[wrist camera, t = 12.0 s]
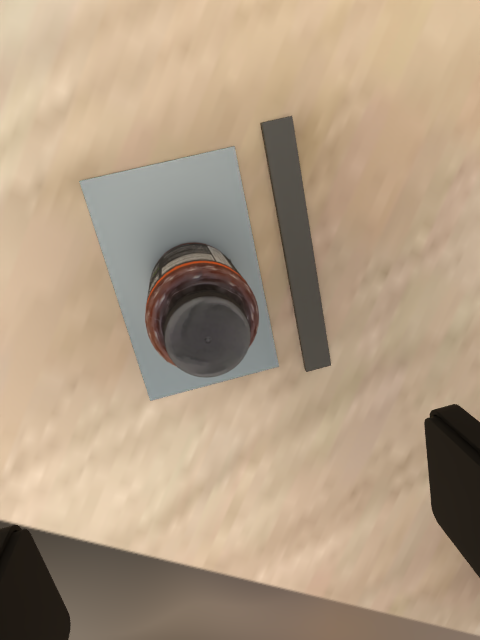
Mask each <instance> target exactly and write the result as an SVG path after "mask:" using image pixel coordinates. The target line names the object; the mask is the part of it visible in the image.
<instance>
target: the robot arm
mask: <svg viewBox="0 0 480 640" xmlns="http://www.w3.org/2000/svg"><path fill="white" fill-rule="evenodd" d="M425 436H426V448H427V459H428V471H429V483H430V494H431V506H432V511H433V514H434V516H435V518H436V520H437V522H438V524H439V525H440V526H441V528H442V529H443V530H444V532H445V533H446V534H447V536H448V537H449V538H450V539H451V541H452V542H453V543H454V545H455V546H456V547H457V549H458V550H459V551H460V553H461V554H462V555H463V557H464V558H465V559H466V560H467V562H468V563H469V564H470V566H471V567H472V568H473V570H474V571H475V572H476V574H477V575H478V576H479V577H480V422H479V421H478V420H476V419H475V418H474V417H473V416H471V415H470V414H469V413H468V412H466V411H465V410H464V409H463V408H461V407H460V406H458V405H457V404H453V405H449V406H446V407H442V408H438V409H435V410H432V411H431V413H430V418H427V419H425ZM69 633H70V616H69V613H68V611H67V609H66V606H65V604H64V602H63V600H62V598H61V596H60V594H59V592H58V590H57V588H56V586H55V584H54V581H53V579H52V577H51V575H50V573H49V571H48V569H47V567H46V565H45V563H44V561H43V558H42V557H41V555H40V552H39V550H38V548H37V546H36V544H35V542H34V540H33V538H32V536H31V534H30V532H29V531H28V530H27V529H24V530H22V529H21V528H20V527H19V526H18V525H13V526H9V527H6V528H2V529H0V640H68V638H69Z"/></svg>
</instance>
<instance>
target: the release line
mask: <svg viewBox="0 0 480 640" xmlns="http://www.w3.org/2000/svg"><path fill="white" fill-rule="evenodd" d="M261 128H262V134H263V139H264V145H265V150H266V156H267V161H268V167H269V173H270V178H271V184H272V189H273V195H274V200H275V206H276V211H277V217H278V222H279V228H280V234H281V239H282V245H283V250H284V256H285V261H286V267H287V272H288V278H289V284H290V289H291V295H292V300H293V306H294V311H295V317H296V322H297V328H298V333H299V339H300V345H301V350H302V356H303V361H304V367H305V370H306V372H308V371H312V370H315V369H319V368H323V367H327V366H330V365H331V361H330V355H329V348H328V342H327V335H326V329H325V323H324V316H323V310H322V304H321V297H320V291H319V284H318V278H317V272H316V265H315V259H314V253H313V246H312V240H311V233H310V227H309V221H308V214H307V208H306V202H305V195H304V189H303V182H302V176H301V170H300V163H299V157H298V150H297V144H296V138H295V131H294V125H293V119H292V116H290V117H285V118H281V119H276V120H272V121H267V122H263V123H261Z"/></svg>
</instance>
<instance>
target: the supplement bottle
mask: <svg viewBox="0 0 480 640" xmlns="http://www.w3.org/2000/svg"><path fill="white" fill-rule="evenodd" d="M145 323H146V328H147V333H148V336H149V339H150V341H151V343H152V345H153V346H154V348H155V349H156V351H157V352H158V353H159V355H160V356H162V357H163V358H164V359H165V360H166V361H167V362H169V363H170V364H172V365H174V366H176V367H178V368H179V369H181V370H182V371H184V372H186V373H188V374H190V375H193V376H197V377H206V378H207V377H216V376H220V375H222V374H225V373H227V372H229V371H230V370H232V369H234V368H235V367H236V366H237V365H238V364H239V363H240V362H241V361H242V360H243V358H244V357H245V355H246V353H247V351H248V349H249V347H250V346H251V344H252V343H253V341H254V339H255V336H256V334H257V330H258V326H259V311H258V305H257V301H256V298H255V296H254V294H253V292H252V290H251V288H250V287H249V285H248V284H247V282H246V280H245V279H244V278H243V277H242V276H241V274H240V273H239V272H238V271H237V269H236V268H235V267H234V265H233V264H232V262H231V259H230V260H229V259H228V258H227V257H226V256H225V255H224V254H223V253H221V252H220V251H219V250H217V249H216V248H214V247H212V246H209V245H206V244H203V243H185V244H181V245H178V246H176V247H174V248H172V249H170V250H169V251H167V252H166V253H164V254H163V256H162V257H161V258H160V259H159V260H158V262H157V263H156V265H155V267H154V269H153V271H152V274H151V278H150V283H149V290H148V297H147V303H146V313H145Z"/></svg>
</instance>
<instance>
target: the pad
mask: <svg viewBox="0 0 480 640" xmlns="http://www.w3.org/2000/svg"><path fill="white" fill-rule="evenodd" d="M79 182H80V185H81V188H82V191H83V194H84V197H85V200H86V204H87V207H88V210H89V213H90V216H91V219H92V222H93V225H94V228H95V231H96V234H97V238H98V241H99V244H100V247H101V250H102V253H103V256H104V259H105V262H106V265H107V268H108V271H109V275H110V278H111V281H112V284H113V287H114V290H115V293H116V296H117V299H118V302H119V305H120V309H121V312H122V315H123V318H124V321H125V324H126V327H127V330H128V333H129V336H130V339H131V343H132V346H133V349H134V352H135V355H136V358H137V361H138V364H139V367H140V370H141V373H142V377H143V380H144V383H145V386H146V389H147V392H148V395H149V398H150V401H151V400H155V399H159V398H163V397H167V396H170V395H174V394H178V393H182V392H185V391H189V390H193V389H197V388H200V387H204V386H208V385H212V384H215V383H219V382H223V381H227V380H230V379H234V378H238V377H242V376H245V375H249V374H253V373H257V372H260V371H264V370H268V369H272V368H275V367H279V364H278V359H277V354H276V349H275V344H274V339H273V334H272V329H271V324H270V319H269V314H268V309H267V305H266V300H265V295H264V290H263V285H262V280H261V275H260V270H259V265H258V260H257V255H256V250H255V245H254V240H253V235H252V230H251V225H250V220H249V216H248V211H247V206H246V201H245V196H244V191H243V186H242V181H241V176H240V171H239V166H238V161H237V156H236V151H235V146H233V147H229V148H224V149H220V150H215V151H211V152H207V153H202V154H198V155H193V156H189V157H184V158H180V159H175V160H171V161H167V162H162V163H158V164H153V165H149V166H144V167H140V168H136V169H131V170H127V171H122V172H118V173H113V174H109V175H104V176H100V177H96V178H91V179H87V180H82V181H79ZM185 243H203V244H206V245H209V246H212V247H214V248H216V249H217V250H219V251H220V252H221V253H223V254H224V255H225V256H226V257H227V258H228V259H229V260H230V259H231V262H232V264H233V265H234V267H235V268H236V269H237V271H238V272H239V273H240V274H241V276H242V277H243V278H244V279H245V280H246V282H247V284H248V285H249V287H250V288H251V290H252V292H253V294H254V296H255V298H256V301H257V305H258V311H259V326H258V330H257V334H256V336H255V339H254V341H253V343H252V344H251V346H250V347H249V349H248V351H247V353H246V355H245V357H244V358H243V360H242V361H241V362H240V363H239V364H238V365H237V366H236V367H235V368H234V369H232V370H230V371H229V372H227V373H225V374H222V375H220V376H216V377H207V378H206V377H197V376H193V375H190V374H188V373H186V372H184V371H182V370H181V369H179V368H178V367H176V366H174V365H172V364H170V363H169V362H167V361H166V360H165V359H164V358H163V357H162V356H160V355H159V353H158V352H157V351H156V349H155V348H154V346H153V345H152V343H151V341H150V339H149V336H148V333H147V328H146V323H145V313H146V303H147V297H148V290H149V283H150V278H151V274H152V271H153V269H154V267H155V265H156V263H157V262H158V260H159V259H160V258H161V257H162V256H163V254H164V253H166V252H167V251H169V250H170V249H172V248H174V247H176V246H178V245H181V244H185Z"/></svg>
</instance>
